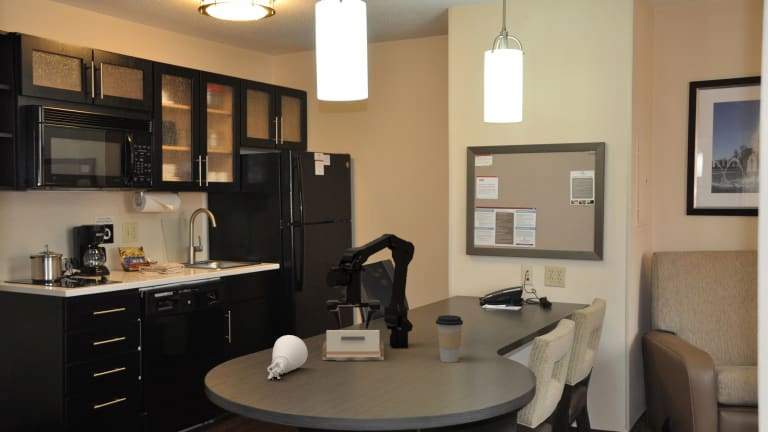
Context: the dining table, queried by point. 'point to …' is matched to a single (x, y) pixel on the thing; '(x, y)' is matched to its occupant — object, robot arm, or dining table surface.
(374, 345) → the panel
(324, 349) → the tray
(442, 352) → the coffee cup
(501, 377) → the dining table surface
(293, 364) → the rocket engine
